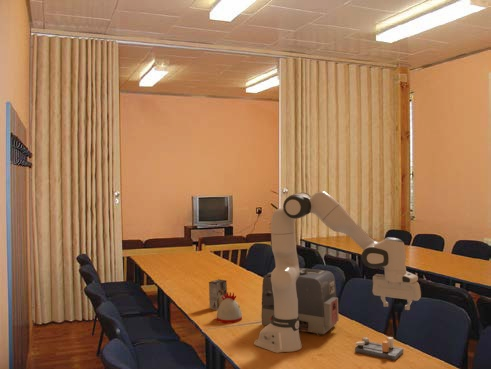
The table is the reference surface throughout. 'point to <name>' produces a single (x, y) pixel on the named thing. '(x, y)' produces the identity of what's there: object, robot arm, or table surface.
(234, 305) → the kitchen timer
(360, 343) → the plate
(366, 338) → the button
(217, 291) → the coffee box
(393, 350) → the console
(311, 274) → the film projector
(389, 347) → the fader ivory
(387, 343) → the fader orange
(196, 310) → the table surface
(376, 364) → the table surface
